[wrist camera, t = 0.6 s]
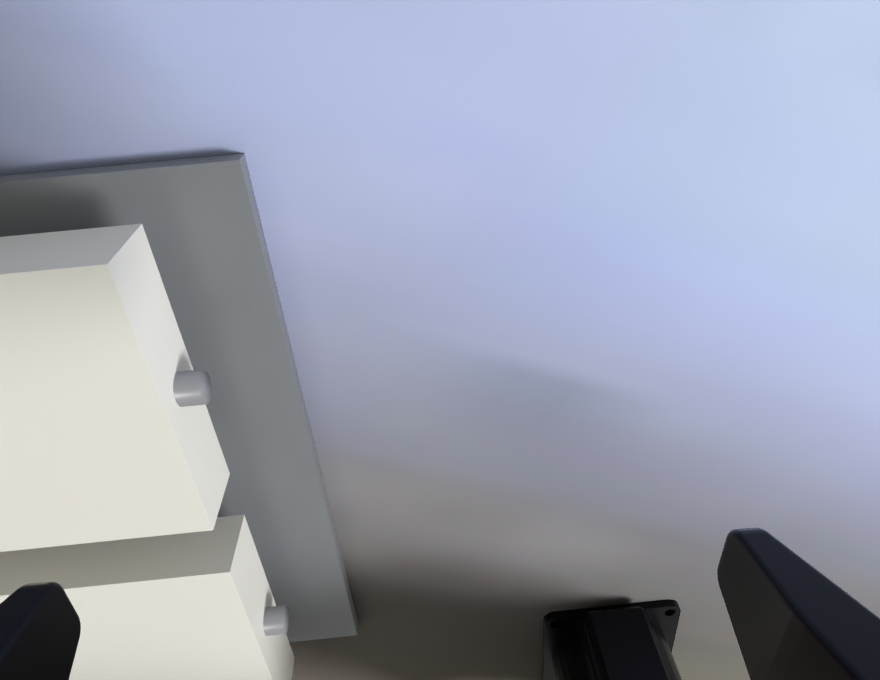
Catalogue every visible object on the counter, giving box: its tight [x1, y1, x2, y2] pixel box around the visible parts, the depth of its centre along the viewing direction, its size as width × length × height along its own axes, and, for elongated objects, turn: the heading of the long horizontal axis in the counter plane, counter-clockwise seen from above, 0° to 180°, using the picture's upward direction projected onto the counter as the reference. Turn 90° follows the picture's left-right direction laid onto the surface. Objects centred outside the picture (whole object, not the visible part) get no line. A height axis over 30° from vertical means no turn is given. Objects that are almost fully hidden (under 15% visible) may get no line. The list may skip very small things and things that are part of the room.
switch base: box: [0, 153, 358, 642], centre depth 23 cm, size 22×16×1 cm
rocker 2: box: [0, 515, 295, 680], centre depth 24 cm, size 9×12×2 cm
